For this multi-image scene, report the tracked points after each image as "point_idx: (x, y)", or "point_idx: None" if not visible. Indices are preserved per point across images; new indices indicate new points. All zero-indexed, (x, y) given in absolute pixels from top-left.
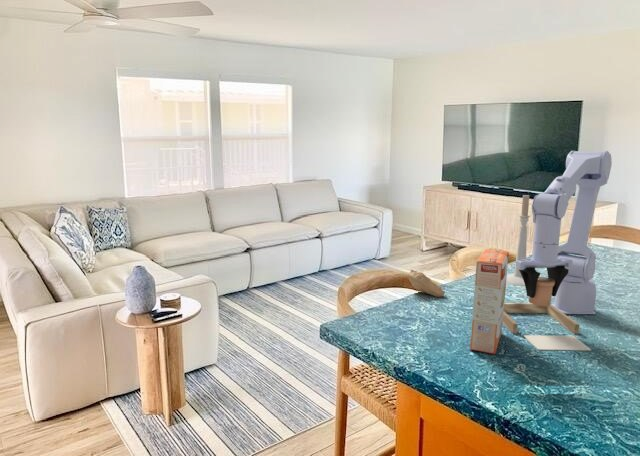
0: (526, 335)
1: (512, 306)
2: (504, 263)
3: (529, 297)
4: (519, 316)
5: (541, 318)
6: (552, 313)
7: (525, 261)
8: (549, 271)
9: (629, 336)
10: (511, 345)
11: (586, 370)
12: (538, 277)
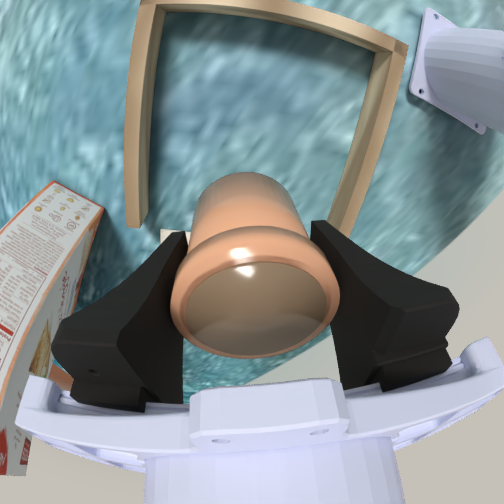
0: (168, 232)
1: (237, 8)
2: (22, 471)
3: (193, 217)
4: (244, 55)
5: (320, 90)
6: (372, 95)
7: (78, 449)
8: (367, 314)
9: (426, 257)
10: (113, 272)
11: (214, 356)
12: (181, 386)
